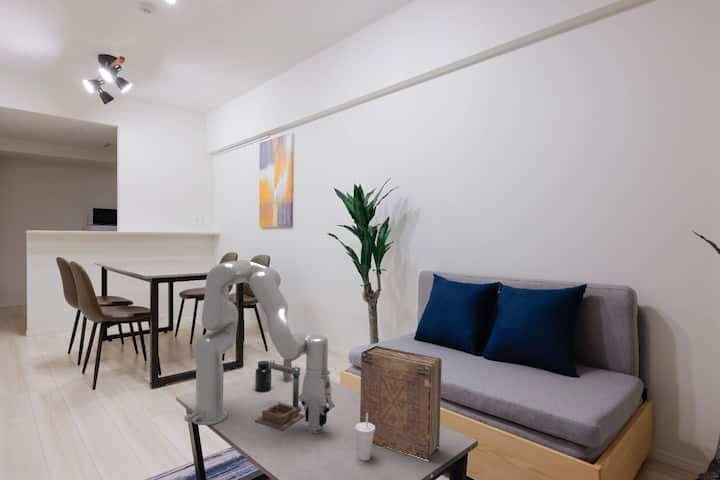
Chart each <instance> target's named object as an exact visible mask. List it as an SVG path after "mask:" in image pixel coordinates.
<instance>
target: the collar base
mask: <svg viewBox="0 0 720 480" xmlns="http://www.w3.org/2000/svg"><path fill="white" fill-rule="evenodd" d="M292 378H293V379H292V380H293V381H292V405H289V404H286V403H282V402H277V403H275V404H273V405H271V406H270V407H268V408H266V409H264V410H262V412H261V413H262V414H261V416H260V417H258V418H256V419H255V420H254V422H255V423H258V424H259V425H262V426H266V427H269V428H272V429H275V430H279V431H281V432H284V431H285V430H287V429H289V428H290V427H291V426H293V425H295V424H296V423H298V422H299V421H301V420H302V419H304V418H305V414H302V413H301V411H302V407H301V406H299V403H300V402H299V401H300V400H299V398H298V397H299V396H300V393H299V391H300V375H299V376H293V375H292Z"/></svg>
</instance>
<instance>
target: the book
mask: <svg viewBox="0 0 720 480" xmlns="http://www.w3.org/2000/svg"><path fill="white" fill-rule="evenodd" d="M360 356H361V357H360V358H361V359H360V360H361V361H360V363H361V364H360V404H359V405H360V409H359V410H360V411H359V412H360V415H359V416H360V417H359V420H360V422H359V423H362V422H366V413H368V423H371V424H373V425H374V426H375V432H374V437H373V443H372V444H374V443H376V444H375V445H377V444H379V445H378V446H380V445H382V446H381V447H383V446H386V447H389V448H392V449H395V450H397V451H401V452H403V453H407V454H411V455H414V456H417V457H420V458H423V459H427V460H430V459H431V454H433V453H435V451H436V450H437V449H436V448H437V447H439V448H440V439H441V437H440V435H441V434H440V431H441V403H442V402H441V401H442V400H441V399H442V398H441V396H442V365H443V364H442V361H443V360H442V358H441V357H435V356H430V355H424V354H422V353H421V354H420V353H414V352H409V351H404V350H399V349H394V348H388V347H383V346H379V345H375V346H372V347H371V348H368V349H366V350H364V351H362V352H361V354H360ZM386 447H385V448H386ZM435 449H436V450H435ZM397 451H396V452H397ZM403 453H402V454H403Z"/></svg>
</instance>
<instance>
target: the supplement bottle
mask: <svg viewBox="0 0 720 480" xmlns="http://www.w3.org/2000/svg"><path fill="white" fill-rule="evenodd" d="M268 364H270V361H268V360H261V361H258V362H257V368H256V369H255V374H254V375H255V382H254V383H255V385H254V386H255V387H254V389H255V391H256V392H257V393H265V392H266V393H267V392H269V391H271V389H272V369H269V368H268Z"/></svg>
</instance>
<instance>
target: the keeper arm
mask: <svg viewBox="0 0 720 480" xmlns="http://www.w3.org/2000/svg"><path fill="white" fill-rule="evenodd" d="M268 368H269V369H271V370H275V371H279V372H282V373H283V372H286V373H290V374H291V376H292V377H293V376H299V377H300V376H301V368H300V367H298V366H297V367H296V366H295V367H293V366H292V367H288V366H283V364H278V363H276V362H275V360H274V359H273V360H269V364H268Z"/></svg>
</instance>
